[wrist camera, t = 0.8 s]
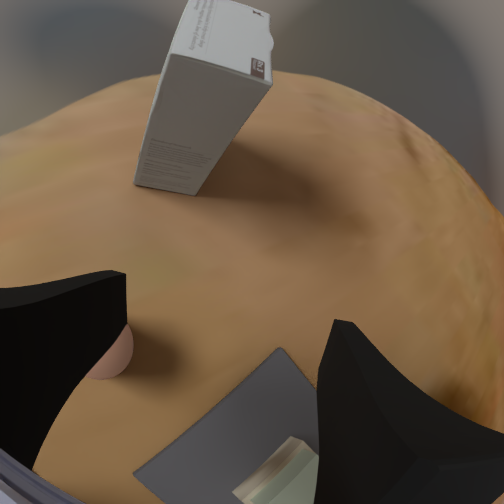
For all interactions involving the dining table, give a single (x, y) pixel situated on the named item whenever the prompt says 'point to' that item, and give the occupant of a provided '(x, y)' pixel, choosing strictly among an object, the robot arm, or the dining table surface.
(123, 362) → the rounded pink dome
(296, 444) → the birch slab
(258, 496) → the sage slab
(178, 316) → the dining table surface
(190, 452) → the charcoal mat
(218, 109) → the skincare box
